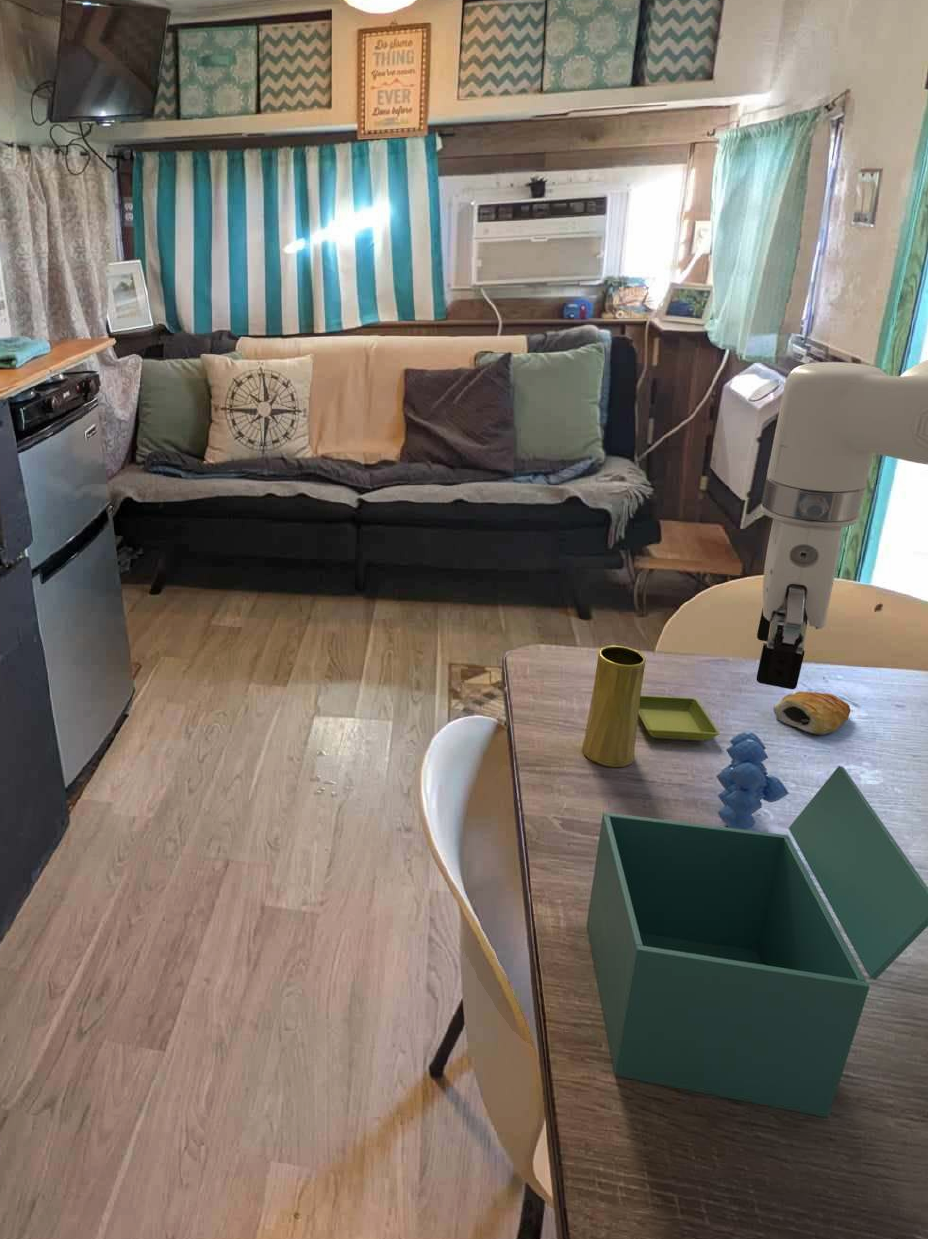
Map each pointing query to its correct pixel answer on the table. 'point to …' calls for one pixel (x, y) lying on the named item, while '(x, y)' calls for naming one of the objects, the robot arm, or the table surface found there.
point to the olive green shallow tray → (676, 718)
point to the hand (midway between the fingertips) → (775, 662)
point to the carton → (720, 964)
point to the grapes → (746, 782)
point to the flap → (862, 873)
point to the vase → (614, 707)
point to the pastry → (813, 712)
